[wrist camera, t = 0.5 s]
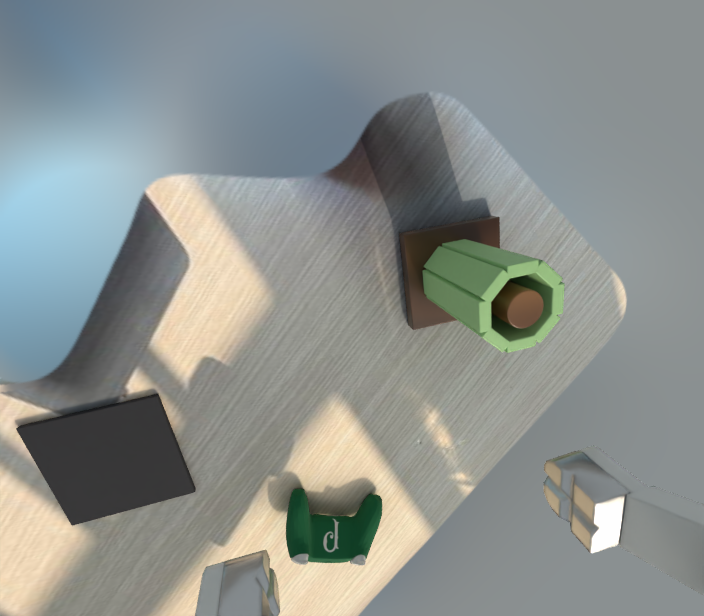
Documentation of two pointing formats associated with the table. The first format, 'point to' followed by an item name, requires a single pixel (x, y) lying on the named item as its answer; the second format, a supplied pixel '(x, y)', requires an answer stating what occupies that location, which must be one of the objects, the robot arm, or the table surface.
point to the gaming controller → (331, 532)
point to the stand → (419, 245)
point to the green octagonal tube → (491, 290)
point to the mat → (109, 458)
